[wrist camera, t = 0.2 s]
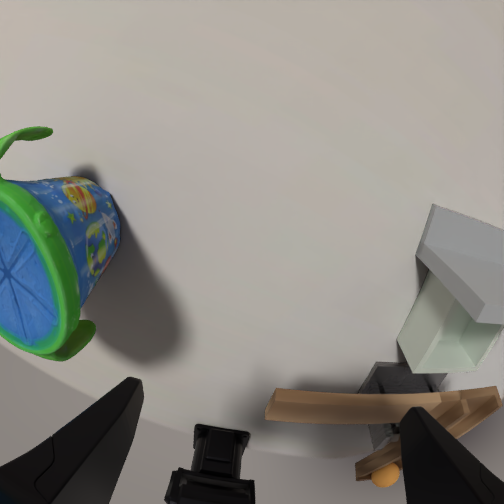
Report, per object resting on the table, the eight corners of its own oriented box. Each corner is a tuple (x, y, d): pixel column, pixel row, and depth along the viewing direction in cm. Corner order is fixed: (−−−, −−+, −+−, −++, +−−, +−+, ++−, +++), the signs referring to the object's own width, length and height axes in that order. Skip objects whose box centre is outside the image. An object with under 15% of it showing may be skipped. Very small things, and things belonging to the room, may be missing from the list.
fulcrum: (416, 409, 29) (432, 453, 22) (346, 411, 28) (356, 463, 22) (450, 363, 25) (475, 409, 19) (376, 361, 25) (396, 419, 19)
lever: (395, 456, 27) (397, 476, 24) (238, 455, 26) (235, 478, 24) (498, 380, 16) (508, 408, 14) (276, 381, 16) (273, 426, 13)
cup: (457, 342, 24) (475, 371, 20) (396, 339, 24) (412, 373, 20) (493, 273, 21) (519, 297, 17) (433, 258, 21) (460, 286, 17)
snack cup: (32, 129, 18) (-62, 151, 9) (140, 116, 18) (41, 118, 8) (55, 295, 24) (-5, 360, 15) (150, 311, 24) (101, 402, 15)
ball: (388, 465, 25) (390, 488, 22) (365, 467, 25) (367, 491, 22) (403, 456, 23) (406, 481, 21) (379, 459, 23) (381, 485, 21)
